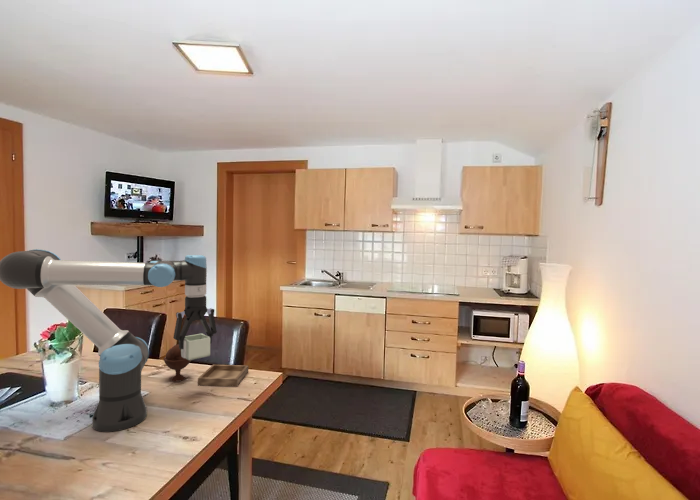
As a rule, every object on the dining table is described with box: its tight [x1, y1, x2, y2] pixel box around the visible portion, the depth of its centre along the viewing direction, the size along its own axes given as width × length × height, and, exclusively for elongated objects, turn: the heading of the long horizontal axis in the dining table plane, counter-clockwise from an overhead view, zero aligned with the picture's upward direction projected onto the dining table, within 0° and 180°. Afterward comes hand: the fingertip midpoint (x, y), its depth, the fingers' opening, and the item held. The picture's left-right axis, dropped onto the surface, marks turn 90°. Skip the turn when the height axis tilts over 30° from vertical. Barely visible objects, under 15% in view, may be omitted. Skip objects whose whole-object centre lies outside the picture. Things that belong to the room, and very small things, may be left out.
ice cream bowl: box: [163, 343, 192, 382], centre depth 155 cm, size 11×11×15 cm
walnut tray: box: [197, 364, 249, 388], centre depth 157 cm, size 16×16×3 cm
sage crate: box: [181, 333, 211, 361], centre depth 140 cm, size 8×8×7 cm
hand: (195, 354), depth 140 cm, fingers closed on sage crate, 8 cm apart
